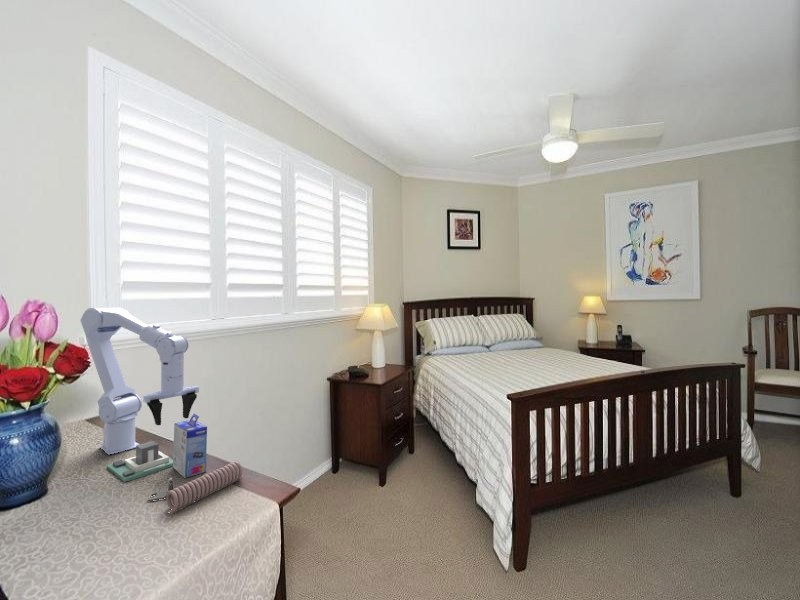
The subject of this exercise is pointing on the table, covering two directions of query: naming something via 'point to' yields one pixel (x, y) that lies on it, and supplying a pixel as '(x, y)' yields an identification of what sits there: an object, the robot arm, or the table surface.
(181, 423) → the ink cartridge box
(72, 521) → the table surface
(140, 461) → the plug
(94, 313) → the robot arm
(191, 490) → the coil
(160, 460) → the board
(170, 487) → the strap clip
